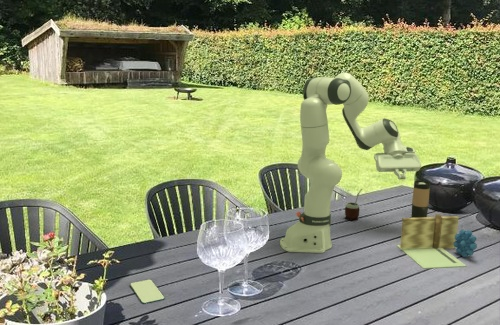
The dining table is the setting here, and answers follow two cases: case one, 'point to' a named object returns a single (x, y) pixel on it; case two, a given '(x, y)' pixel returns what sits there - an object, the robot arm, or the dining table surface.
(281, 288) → the dining table surface
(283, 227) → the dining table surface
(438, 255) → the board
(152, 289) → the smartphone
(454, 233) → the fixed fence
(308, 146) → the robot arm
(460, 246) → the grapes
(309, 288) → the dining table surface
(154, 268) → the dining table surface
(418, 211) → the travel mug
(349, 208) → the mate gourd
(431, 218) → the gate panel
